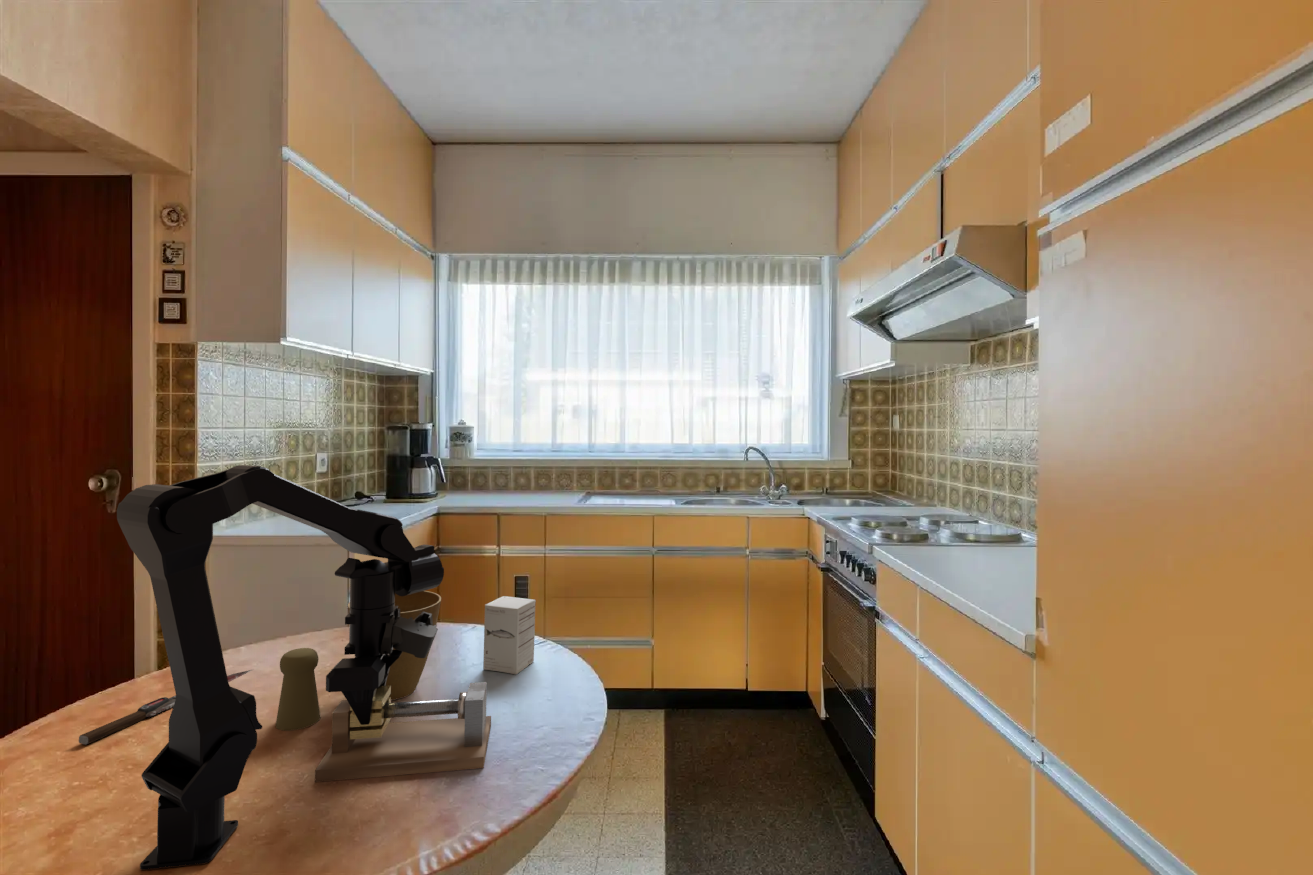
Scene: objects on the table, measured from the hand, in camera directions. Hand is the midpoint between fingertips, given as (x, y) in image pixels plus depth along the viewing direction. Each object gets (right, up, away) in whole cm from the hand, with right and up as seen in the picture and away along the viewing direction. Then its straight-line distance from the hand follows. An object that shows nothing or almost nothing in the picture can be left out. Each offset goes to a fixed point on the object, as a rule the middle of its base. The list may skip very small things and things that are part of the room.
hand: (370, 714), depth 84 cm
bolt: (+6, -4, +1) cm, 7 cm away
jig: (+5, -6, +1) cm, 8 cm away
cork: (-16, -5, +9) cm, 19 cm away
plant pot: (-6, -6, +20) cm, 22 cm away
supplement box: (+11, -6, +33) cm, 35 cm away
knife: (-39, -5, +16) cm, 42 cm away
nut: (0, -2, 0) cm, 2 cm away
